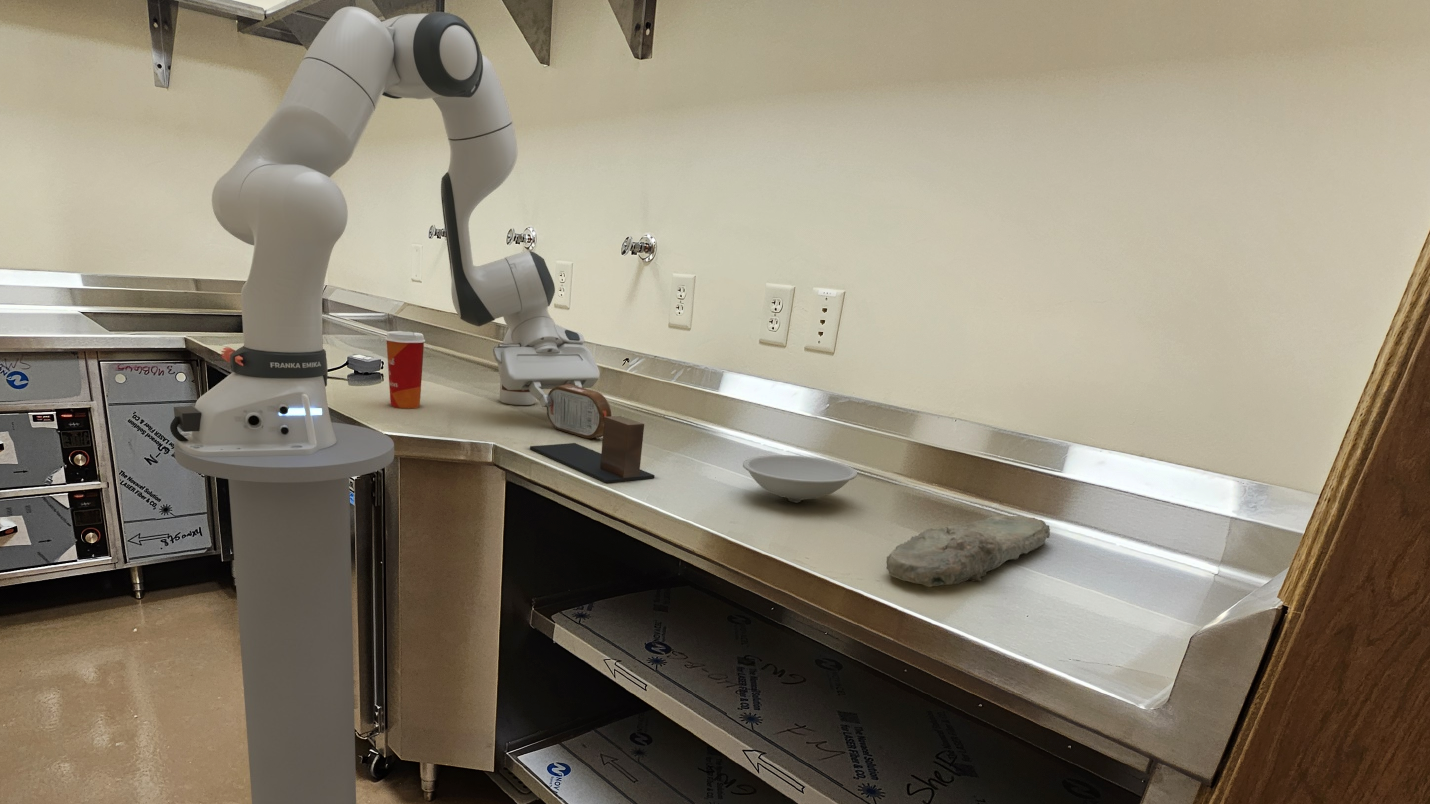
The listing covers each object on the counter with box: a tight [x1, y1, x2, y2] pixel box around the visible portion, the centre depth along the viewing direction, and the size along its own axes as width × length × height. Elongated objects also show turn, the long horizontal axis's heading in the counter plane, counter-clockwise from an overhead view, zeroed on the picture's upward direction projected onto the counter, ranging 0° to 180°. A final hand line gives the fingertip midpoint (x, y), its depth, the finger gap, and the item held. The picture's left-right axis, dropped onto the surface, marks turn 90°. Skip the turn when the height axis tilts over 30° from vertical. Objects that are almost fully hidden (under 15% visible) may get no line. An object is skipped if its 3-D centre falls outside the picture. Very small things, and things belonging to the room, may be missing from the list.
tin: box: [546, 384, 612, 439], centre depth 152 cm, size 15×3×8 cm, turn 44°
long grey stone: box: [885, 514, 1051, 588], centre depth 101 cm, size 35×5×10 cm
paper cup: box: [384, 330, 426, 410], centre depth 163 cm, size 8×8×14 cm
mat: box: [529, 442, 655, 484], centre depth 133 cm, size 9×22×1 cm, turn 35°
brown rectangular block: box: [600, 415, 645, 478], centre depth 126 cm, size 3×6×8 cm, turn 35°
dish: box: [742, 454, 858, 503], centre depth 121 cm, size 18×14×5 cm
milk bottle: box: [499, 327, 537, 406], centre depth 175 cm, size 8×8×20 cm
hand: (562, 405), depth 155 cm, fingers open, 5 cm apart
